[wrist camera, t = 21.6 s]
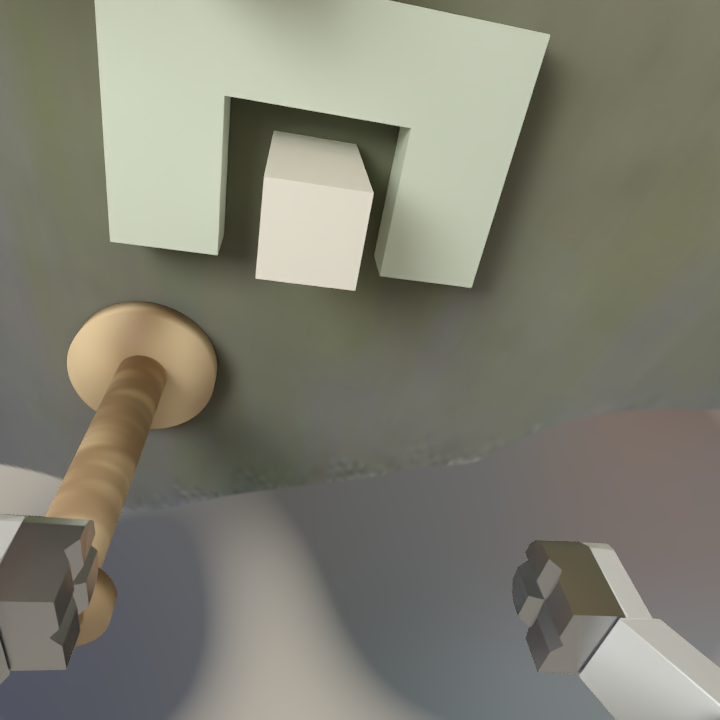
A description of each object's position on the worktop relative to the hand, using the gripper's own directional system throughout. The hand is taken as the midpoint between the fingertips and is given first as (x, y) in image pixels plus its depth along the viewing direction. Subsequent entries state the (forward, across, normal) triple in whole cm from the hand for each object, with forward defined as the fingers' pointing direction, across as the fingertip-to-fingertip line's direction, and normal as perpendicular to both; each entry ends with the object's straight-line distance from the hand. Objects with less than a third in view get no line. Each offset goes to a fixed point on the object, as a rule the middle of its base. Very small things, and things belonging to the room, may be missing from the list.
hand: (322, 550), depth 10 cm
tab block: (+25, 0, 0) cm, 25 cm away
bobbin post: (+25, +9, +14) cm, 30 cm away
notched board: (+25, 0, -2) cm, 25 cm away
